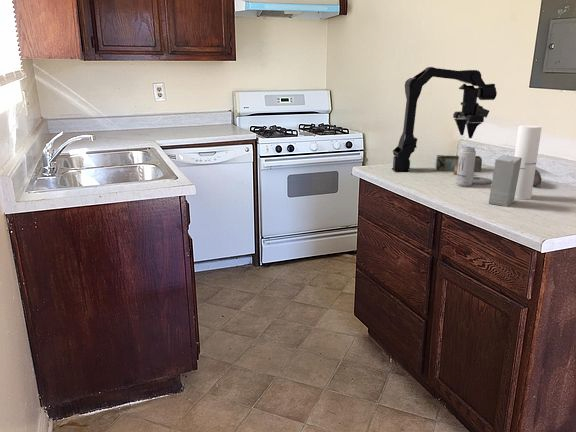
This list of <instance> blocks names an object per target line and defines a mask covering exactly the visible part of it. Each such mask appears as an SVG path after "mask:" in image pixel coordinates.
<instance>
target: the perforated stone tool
mask: <svg viewBox="0 0 576 432" xmlns="http://www.w3.org/2000/svg"><path fill="white" fill-rule="evenodd" d="M541 184H542V176H541V174H540V172H539V171H538V170H537V169H536V168H535V175H534V182H533V187H538V186H541Z"/></svg>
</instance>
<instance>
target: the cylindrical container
mask: <svg viewBox="0 0 576 432" xmlns="http://www.w3.org/2000/svg"><path fill="white" fill-rule="evenodd" d="M541 134H542V126H541V125H534V124H533V125H532V124H522V125H521V124H520V125H518V127H517V135H516V141H515V148H514V155H513V156H514V157H521V158H522V160H521V166H520V171H519V176H518V181H517V187H516V192H515V197H514V200H523V201H527V200H530V199H532V195H533V188H534V186H533V182H534V175H535V169H536V168H537V167H536V166H537V162H538V153H539V147H540V140H541Z"/></svg>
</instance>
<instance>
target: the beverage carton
mask: <svg viewBox="0 0 576 432" xmlns="http://www.w3.org/2000/svg"><path fill="white" fill-rule="evenodd" d="M458 159H459V155H443V154H442V155H441V154H437V155H436V159H435V168H436V171H438V172H439V171H441V172H442V171H443V172H454V168H455V165H458ZM482 162H483V158H482V157H481V156H480V155H476V156H475V165H474V173H481V172H482Z"/></svg>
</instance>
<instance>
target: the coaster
mask: <svg viewBox="0 0 576 432" xmlns="http://www.w3.org/2000/svg"><path fill="white" fill-rule="evenodd" d="M472 185H478V186H479V185H480V186H481V185H482V186H484V185H485V186H486V185H492V179H491V178H487V177H481V176H473V183H472Z"/></svg>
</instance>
